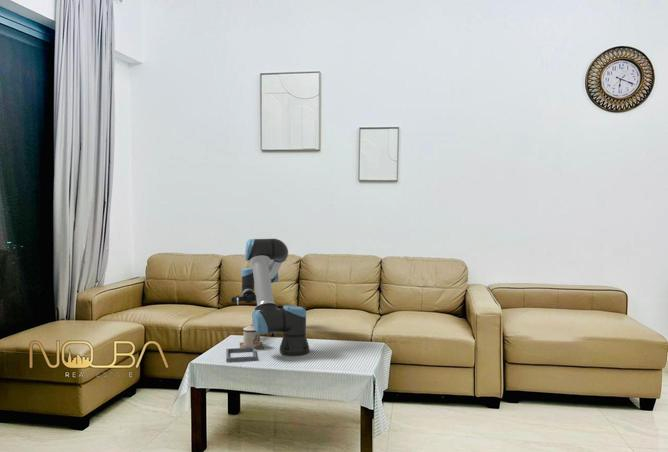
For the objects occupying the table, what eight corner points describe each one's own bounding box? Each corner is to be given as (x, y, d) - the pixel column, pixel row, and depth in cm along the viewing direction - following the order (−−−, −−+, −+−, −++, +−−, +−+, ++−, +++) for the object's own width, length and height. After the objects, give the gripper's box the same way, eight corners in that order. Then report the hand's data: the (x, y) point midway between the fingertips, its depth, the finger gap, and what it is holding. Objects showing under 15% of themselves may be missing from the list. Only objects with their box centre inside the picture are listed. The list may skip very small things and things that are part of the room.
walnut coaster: (262, 342, 273) (262, 341, 272) (263, 348, 261) (263, 347, 261) (239, 343, 270) (239, 342, 270) (240, 349, 258) (240, 348, 258)
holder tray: (254, 350, 256) (254, 347, 256) (256, 360, 240) (256, 356, 240) (226, 352, 253) (226, 348, 253) (226, 362, 237) (226, 358, 237)
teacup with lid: (256, 348, 258) (255, 325, 258) (240, 347, 261) (239, 324, 261) (265, 342, 270) (265, 321, 270) (250, 341, 273) (250, 320, 272)
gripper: (269, 301, 299) (273, 307, 278) (227, 303, 293) (227, 309, 273) (269, 289, 299) (273, 294, 278) (227, 290, 293) (227, 295, 273)
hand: (250, 301), depth 275 cm, fingers open, 13 cm apart
